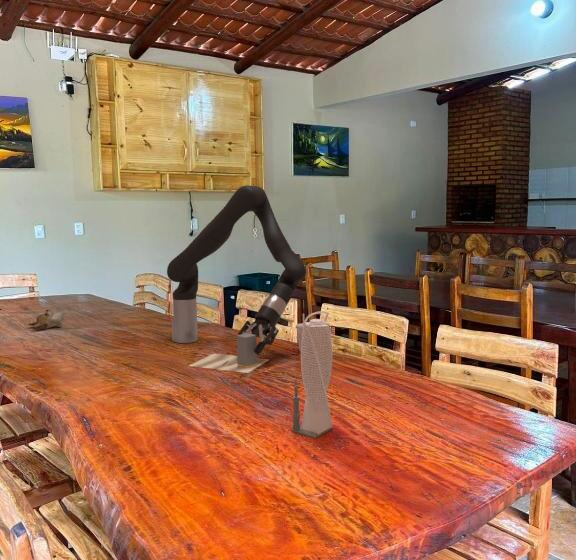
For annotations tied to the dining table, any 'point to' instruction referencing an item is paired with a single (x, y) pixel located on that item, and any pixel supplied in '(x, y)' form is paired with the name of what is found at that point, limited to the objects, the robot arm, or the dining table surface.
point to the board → (226, 364)
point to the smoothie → (300, 333)
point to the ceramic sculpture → (48, 320)
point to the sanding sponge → (246, 350)
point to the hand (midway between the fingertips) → (247, 351)
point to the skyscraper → (314, 378)
